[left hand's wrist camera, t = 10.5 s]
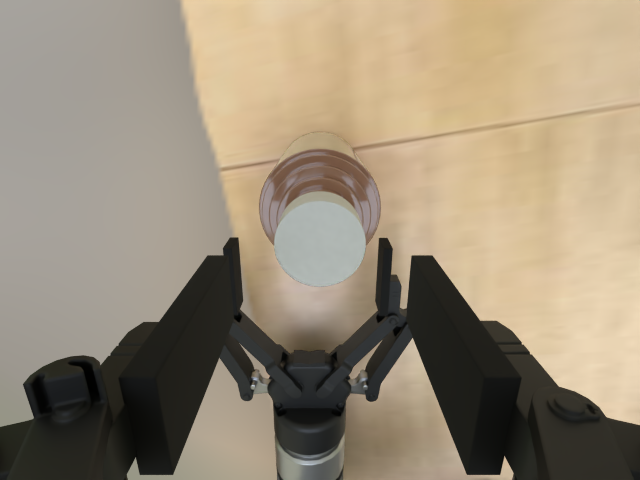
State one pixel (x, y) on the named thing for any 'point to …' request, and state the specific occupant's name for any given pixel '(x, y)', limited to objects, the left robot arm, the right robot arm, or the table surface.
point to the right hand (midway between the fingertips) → (308, 242)
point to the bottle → (319, 180)
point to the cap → (319, 239)
